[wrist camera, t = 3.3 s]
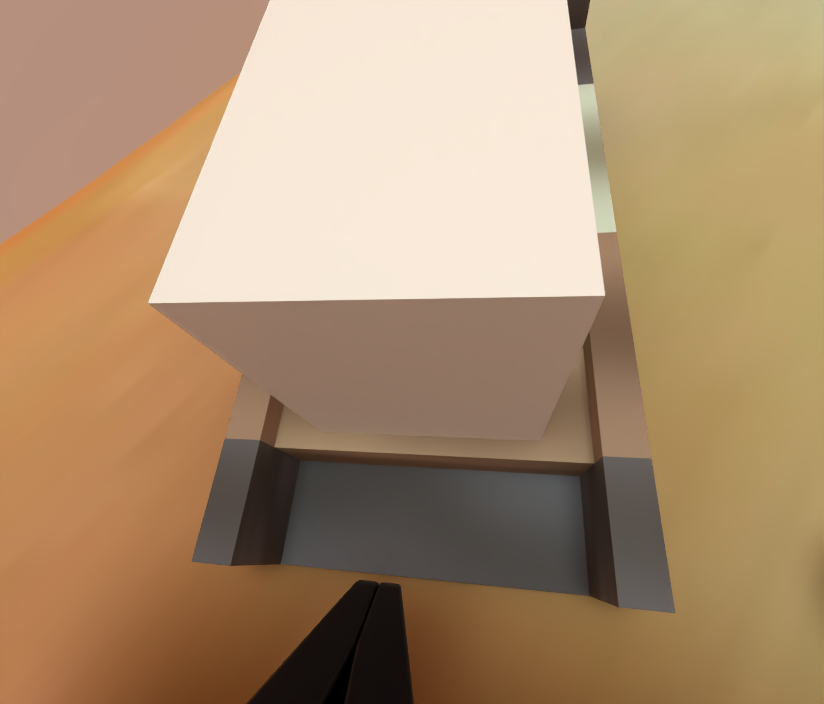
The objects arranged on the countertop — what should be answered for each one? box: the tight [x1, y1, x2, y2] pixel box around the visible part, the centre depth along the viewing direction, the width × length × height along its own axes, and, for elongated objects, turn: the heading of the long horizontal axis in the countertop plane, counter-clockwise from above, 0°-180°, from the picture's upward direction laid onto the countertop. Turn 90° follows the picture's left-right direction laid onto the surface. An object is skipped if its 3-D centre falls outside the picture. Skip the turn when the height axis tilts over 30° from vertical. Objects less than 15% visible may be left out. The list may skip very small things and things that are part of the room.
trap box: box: [192, 0, 675, 613], centre depth 16 cm, size 24×12×6 cm, turn 176°
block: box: [148, 0, 605, 441], centre depth 12 cm, size 9×7×8 cm
